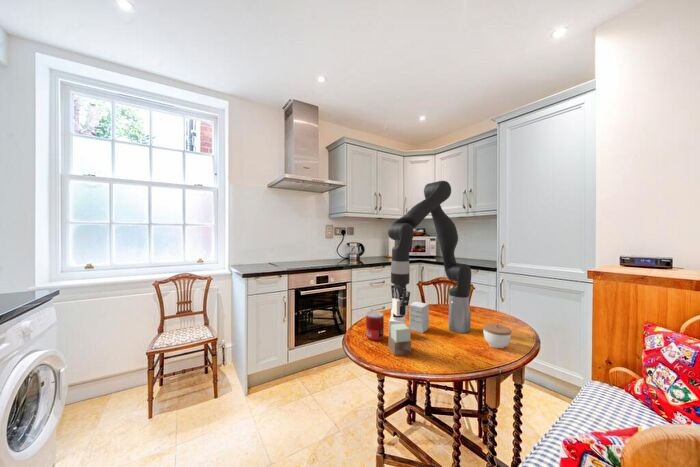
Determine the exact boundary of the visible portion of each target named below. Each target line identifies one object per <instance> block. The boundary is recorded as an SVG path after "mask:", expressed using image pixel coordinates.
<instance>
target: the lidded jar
mask: <svg viewBox="0 0 700 467" xmlns="http://www.w3.org/2000/svg"><path fill="white" fill-rule="evenodd" d="M482 329H483V330H482V331H483V337H484V340H485V341H486V343H488V344H487V345H489V347H491V346H492V347H491V348H494V347H495V349H498V348H503V349H505V348H506V347H508V346H509V344H510V342H511V339H512V332H513V331H512V328H510V327H508V326H506V325H503V324H499V323H492V322H490V323H484V324H483V325H482ZM504 347H505V348H504Z"/></svg>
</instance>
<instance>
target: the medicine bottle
mask: <svg viewBox="0 0 700 467" xmlns="http://www.w3.org/2000/svg"><path fill="white" fill-rule="evenodd" d="M390 310H391V311H390V318H389V320H388V336H391V324H403V323H404V324H405V325H406V326H407V324H406V323H407V318H406V317H405V315H404V316H396V315H395V314H394V313H392V308H391V309H390Z"/></svg>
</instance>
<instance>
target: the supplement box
mask: <svg viewBox="0 0 700 467" xmlns="http://www.w3.org/2000/svg"><path fill="white" fill-rule="evenodd" d="M408 306H409V308H408V310H409V311H408V314H409V317H408V318H409V324H408V327H409V328H410V331H414V332H418V333H421V334H423V333H425V332H426V331H427V330H429V324H430V323H429V322H430V320H429V319H430V316H429V315H430V312H429V310H430V304H429V303H425V302H419V301H414V302H412V303H409V304H408Z"/></svg>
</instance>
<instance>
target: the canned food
mask: <svg viewBox="0 0 700 467" xmlns="http://www.w3.org/2000/svg"><path fill="white" fill-rule="evenodd" d="M384 317H385V316H384V313H383V312H380V311H368V312H366V315H365V321H366V322H365V324H366V328H365V330H366V331H365V336H366V338H367V340H369V341H373V342H378V341H381V340H383V339H384V326H385V325H384V324H385V322H384V321H385V319H384Z"/></svg>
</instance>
